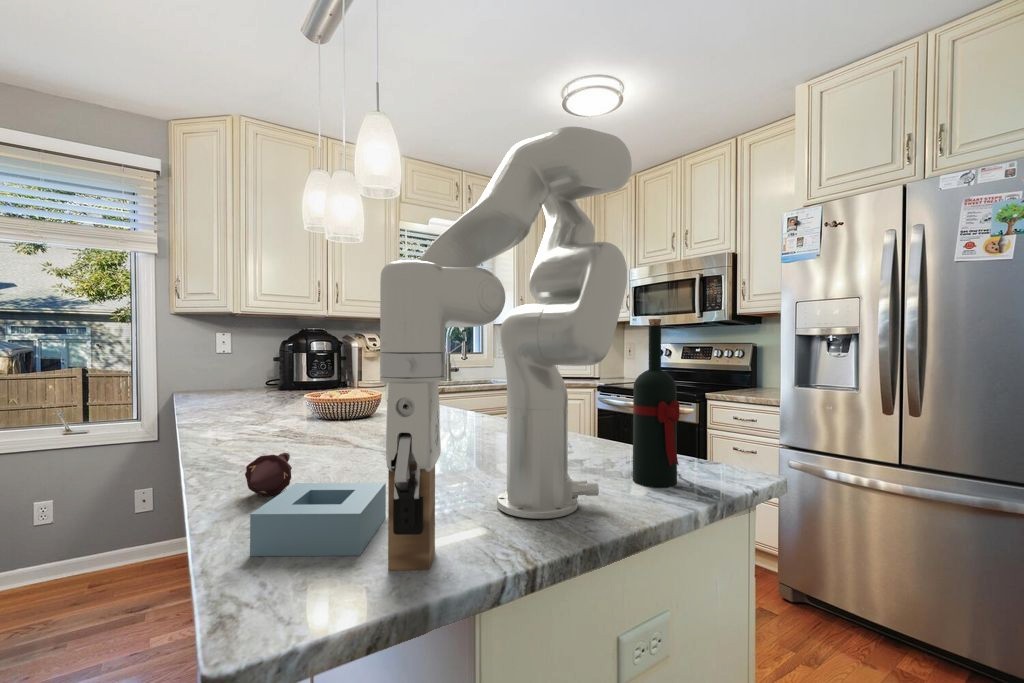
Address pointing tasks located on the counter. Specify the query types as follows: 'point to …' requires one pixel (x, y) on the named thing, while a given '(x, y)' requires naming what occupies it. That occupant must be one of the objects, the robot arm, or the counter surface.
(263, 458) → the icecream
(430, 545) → the walnut peg
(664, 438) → the wine bottle
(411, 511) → the robot arm
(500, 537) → the counter surface
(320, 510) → the socket block
